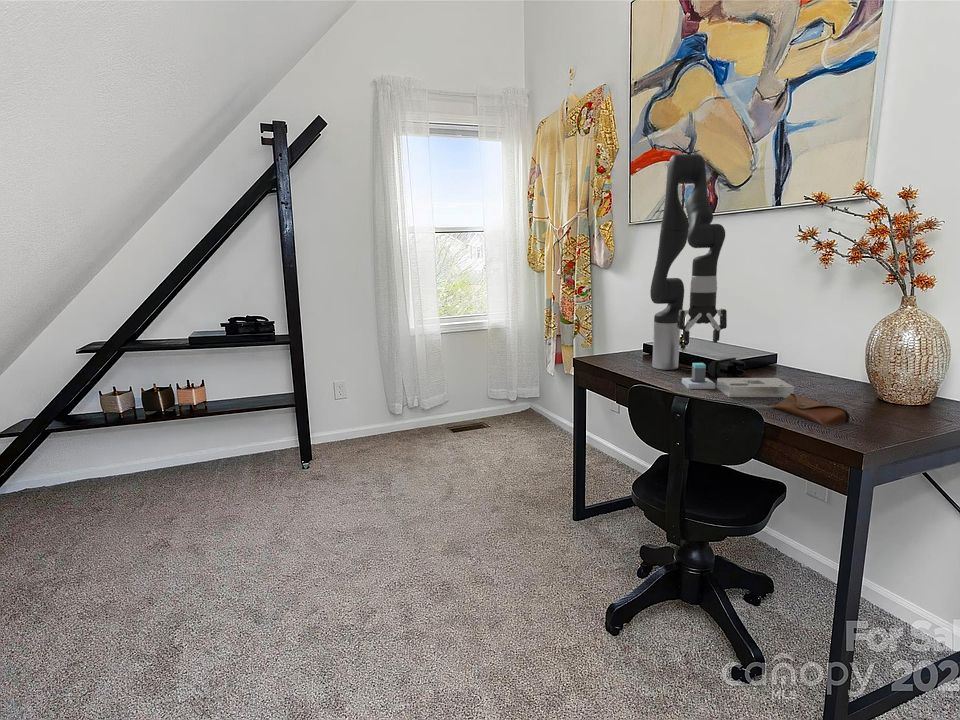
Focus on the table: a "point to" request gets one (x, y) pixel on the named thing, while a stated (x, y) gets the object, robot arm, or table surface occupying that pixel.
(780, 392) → the port panel
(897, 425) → the table surface
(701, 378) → the plug
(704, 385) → the holster
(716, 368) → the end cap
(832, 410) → the sunglasses case
